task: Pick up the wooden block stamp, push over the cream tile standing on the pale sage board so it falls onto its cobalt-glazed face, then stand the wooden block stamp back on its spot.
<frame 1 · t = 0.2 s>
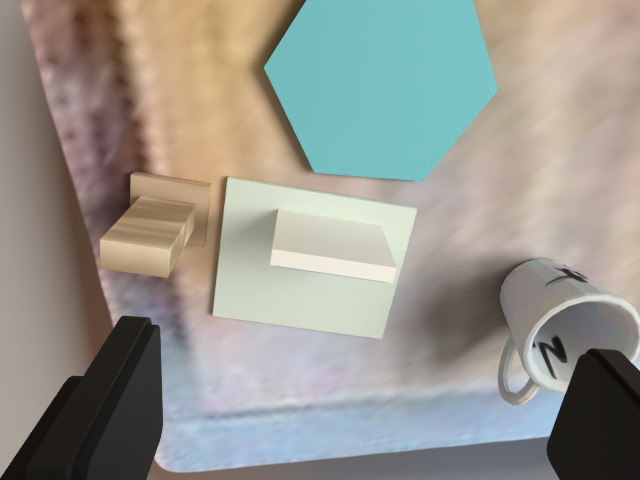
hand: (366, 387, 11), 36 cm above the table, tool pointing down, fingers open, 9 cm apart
plaque: (380, 76, 44), on the table
wooden block stamp: (171, 207, 48), on the table
tile: (328, 224, 48), point 1 cm above the table, touching board
board: (310, 262, 50), on the table
mug: (521, 305, 53), on the table
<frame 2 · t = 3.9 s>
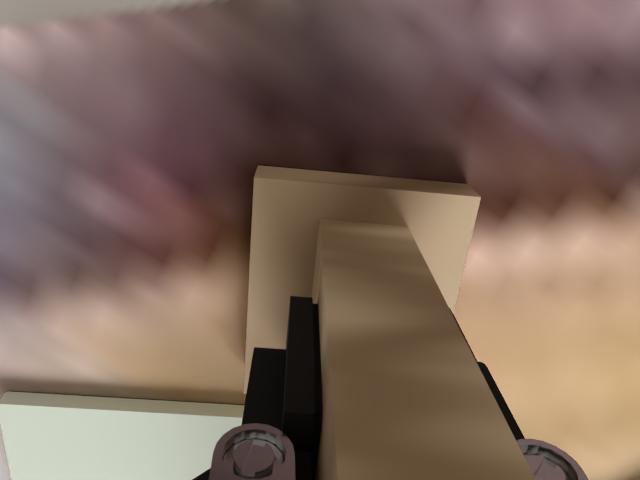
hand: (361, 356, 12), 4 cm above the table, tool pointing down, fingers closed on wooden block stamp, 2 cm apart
wooden block stamp: (349, 283, 16), on the table, touching gripper
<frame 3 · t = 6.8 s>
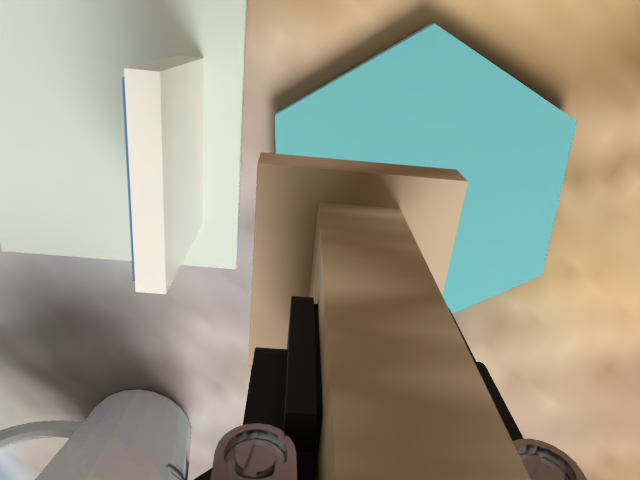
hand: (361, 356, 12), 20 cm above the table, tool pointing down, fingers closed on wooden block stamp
plaque: (411, 191, 33), on the table
wooden block stamp: (346, 263, 17), point 15 cm above the table, touching gripper
tile: (189, 145, 30), point 1 cm above the table, touching board
board: (115, 119, 30), on the table
mug: (114, 416, 39), on the table
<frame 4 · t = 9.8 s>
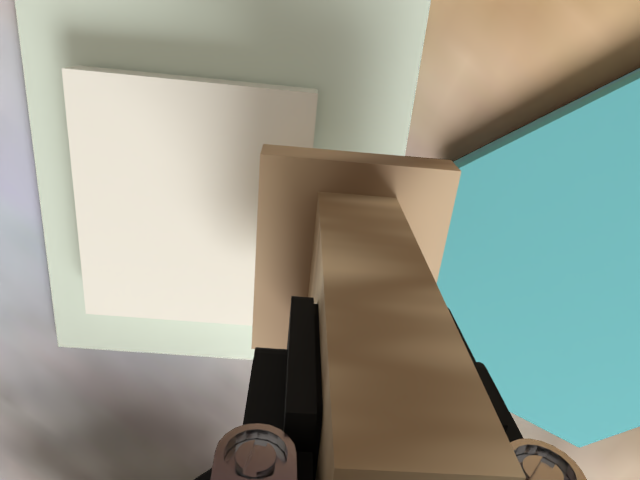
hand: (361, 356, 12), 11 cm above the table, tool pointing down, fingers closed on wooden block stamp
plaque: (608, 265, 24), on the table
wooden block stamp: (345, 250, 17), point 5 cm above the table, touching gripper
tile: (306, 215, 21), point 1 cm above the table, tilted 90°, touching board
board: (222, 175, 21), on the table
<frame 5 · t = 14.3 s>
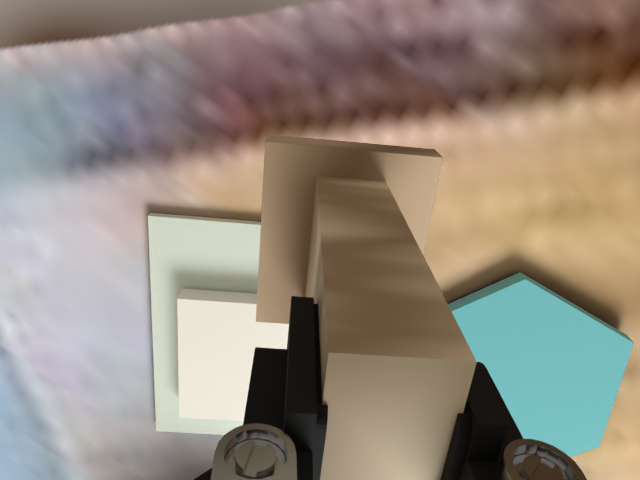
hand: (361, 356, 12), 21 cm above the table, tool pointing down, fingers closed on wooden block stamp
plaque: (492, 379, 40), on the table
wooden block stamp: (341, 232, 19), point 13 cm above the table, touching gripper
tile: (307, 362, 36), point 1 cm above the table, tilted 90°, touching board
board: (258, 336, 37), on the table
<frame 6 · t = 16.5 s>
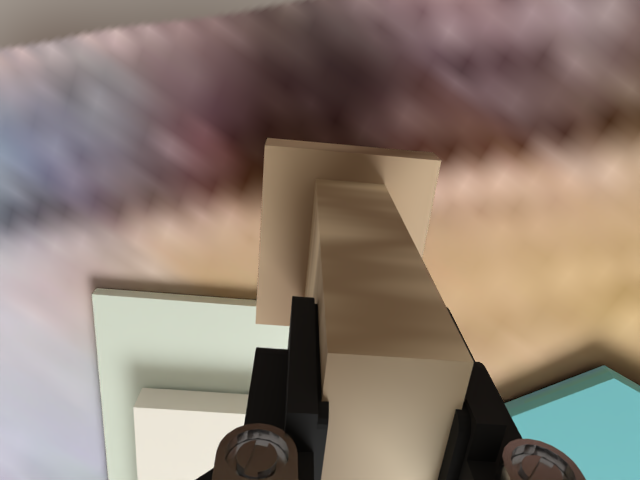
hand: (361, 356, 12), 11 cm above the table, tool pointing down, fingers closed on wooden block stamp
wooden block stamp: (340, 234, 19), point 3 cm above the table, touching gripper
board: (248, 442, 28), on the table
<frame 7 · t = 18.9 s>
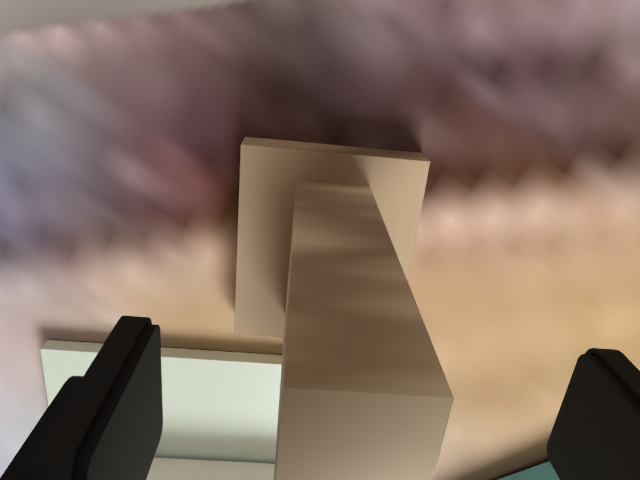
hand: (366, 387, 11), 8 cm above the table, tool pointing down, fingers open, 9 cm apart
wooden block stamp: (324, 239, 18), on the table
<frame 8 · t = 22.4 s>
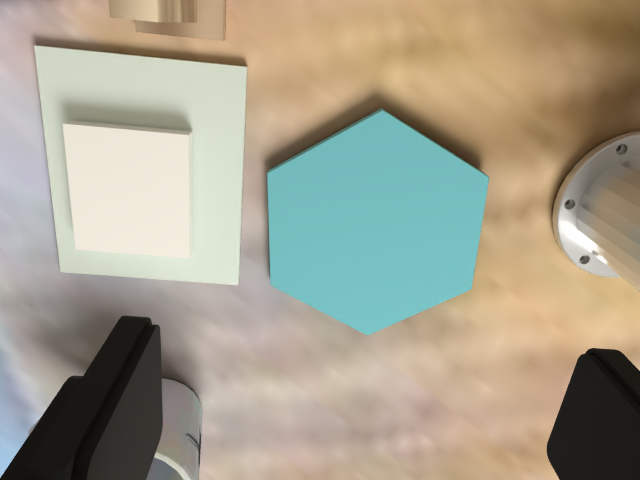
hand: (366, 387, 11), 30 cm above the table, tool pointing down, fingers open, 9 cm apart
plaque: (371, 225, 43), on the table
tile: (191, 196, 39), point 1 cm above the table, tilted 90°, touching board
board: (148, 175, 40), on the table
mug: (141, 400, 49), on the table
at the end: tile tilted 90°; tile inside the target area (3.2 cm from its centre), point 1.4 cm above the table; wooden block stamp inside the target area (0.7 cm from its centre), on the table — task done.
